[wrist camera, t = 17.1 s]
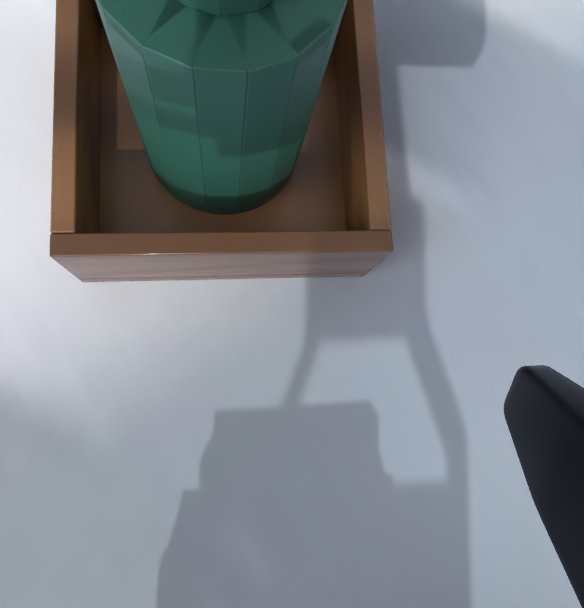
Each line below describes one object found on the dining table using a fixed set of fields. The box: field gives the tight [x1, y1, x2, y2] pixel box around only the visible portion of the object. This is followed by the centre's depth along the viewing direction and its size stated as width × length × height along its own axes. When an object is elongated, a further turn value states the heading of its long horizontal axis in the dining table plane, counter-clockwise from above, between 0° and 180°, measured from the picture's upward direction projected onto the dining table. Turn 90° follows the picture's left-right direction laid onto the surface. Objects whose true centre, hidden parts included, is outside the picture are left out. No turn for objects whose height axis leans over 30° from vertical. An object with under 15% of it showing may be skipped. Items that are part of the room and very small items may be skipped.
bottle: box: [95, 0, 347, 215], centre depth 16 cm, size 6×6×13 cm
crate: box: [50, 0, 393, 282], centre depth 21 cm, size 12×12×4 cm
